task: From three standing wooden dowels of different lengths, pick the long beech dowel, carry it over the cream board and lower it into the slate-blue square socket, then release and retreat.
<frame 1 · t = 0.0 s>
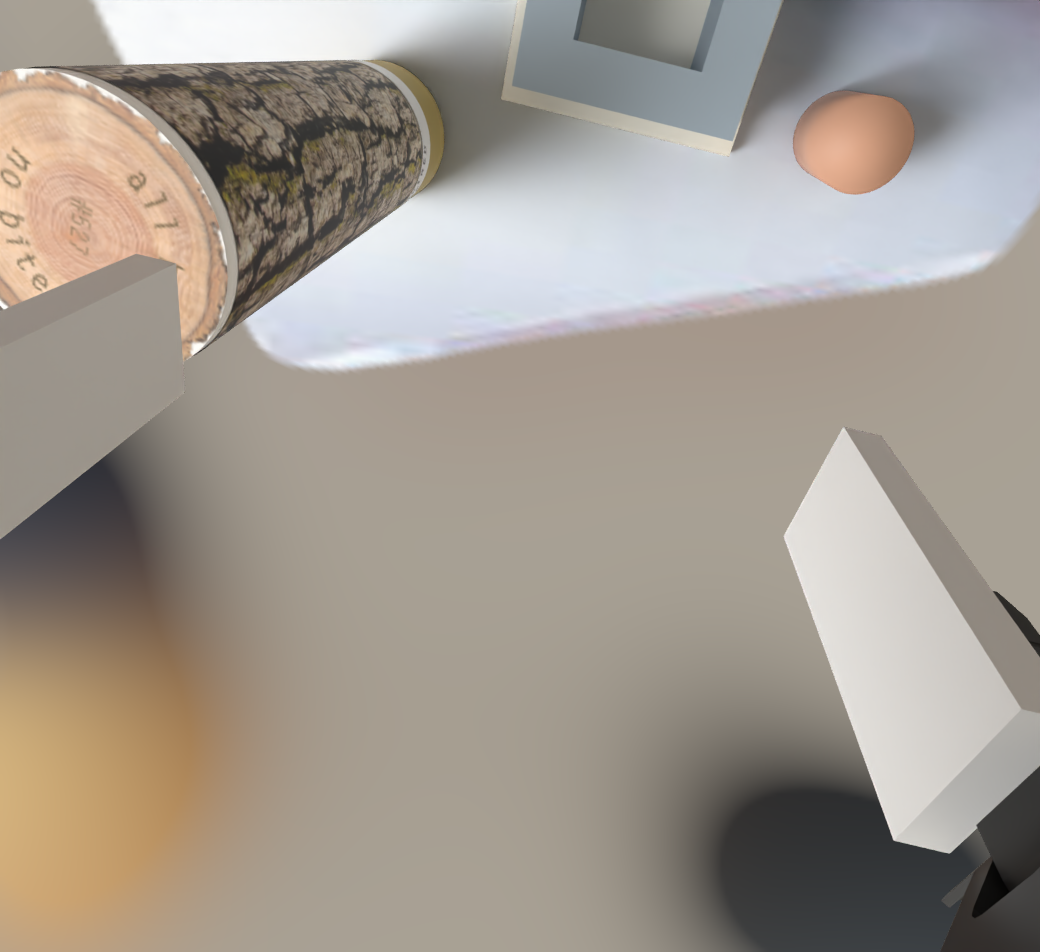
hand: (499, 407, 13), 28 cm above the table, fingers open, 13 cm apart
short dowel: (834, 135, 34), on the table
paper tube: (387, 132, 37), on the table
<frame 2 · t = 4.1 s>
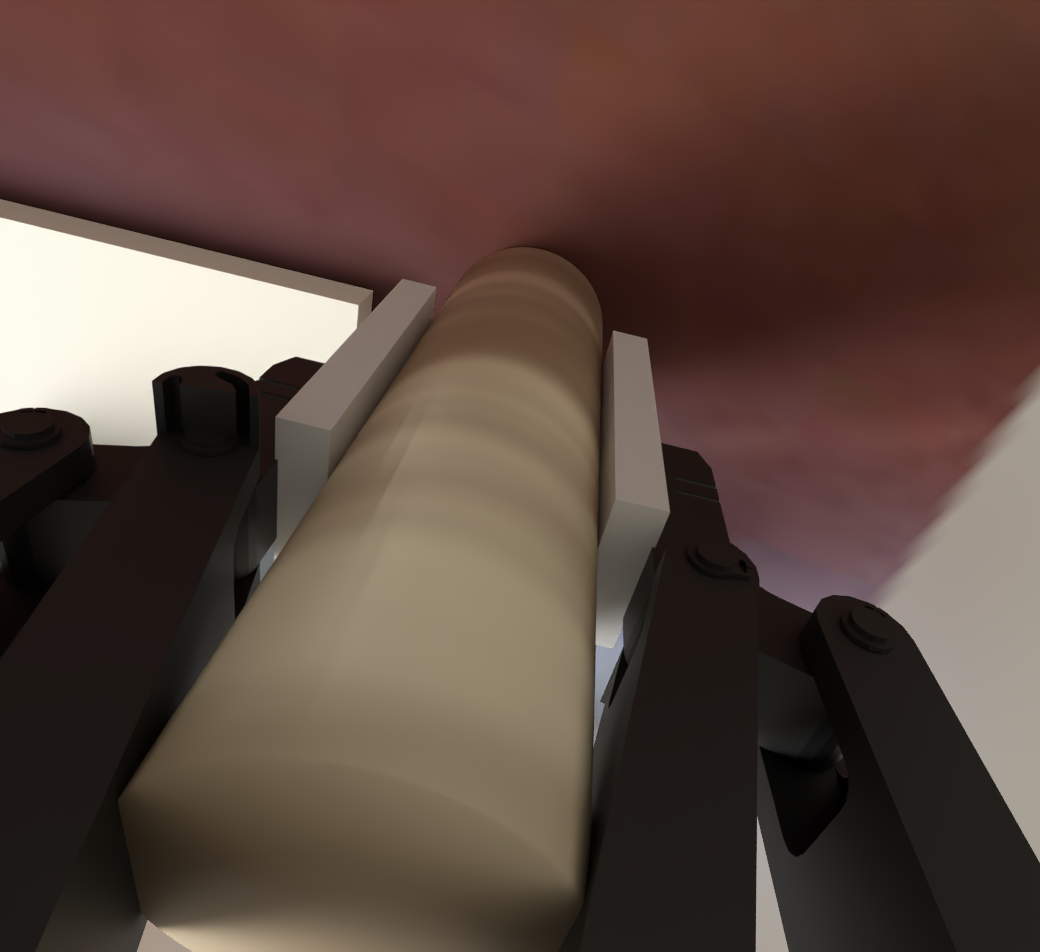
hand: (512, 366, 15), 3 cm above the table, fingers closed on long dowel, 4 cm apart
socket board: (170, 511, 22), on the table
long dowel: (524, 326, 17), on the table, touching gripper
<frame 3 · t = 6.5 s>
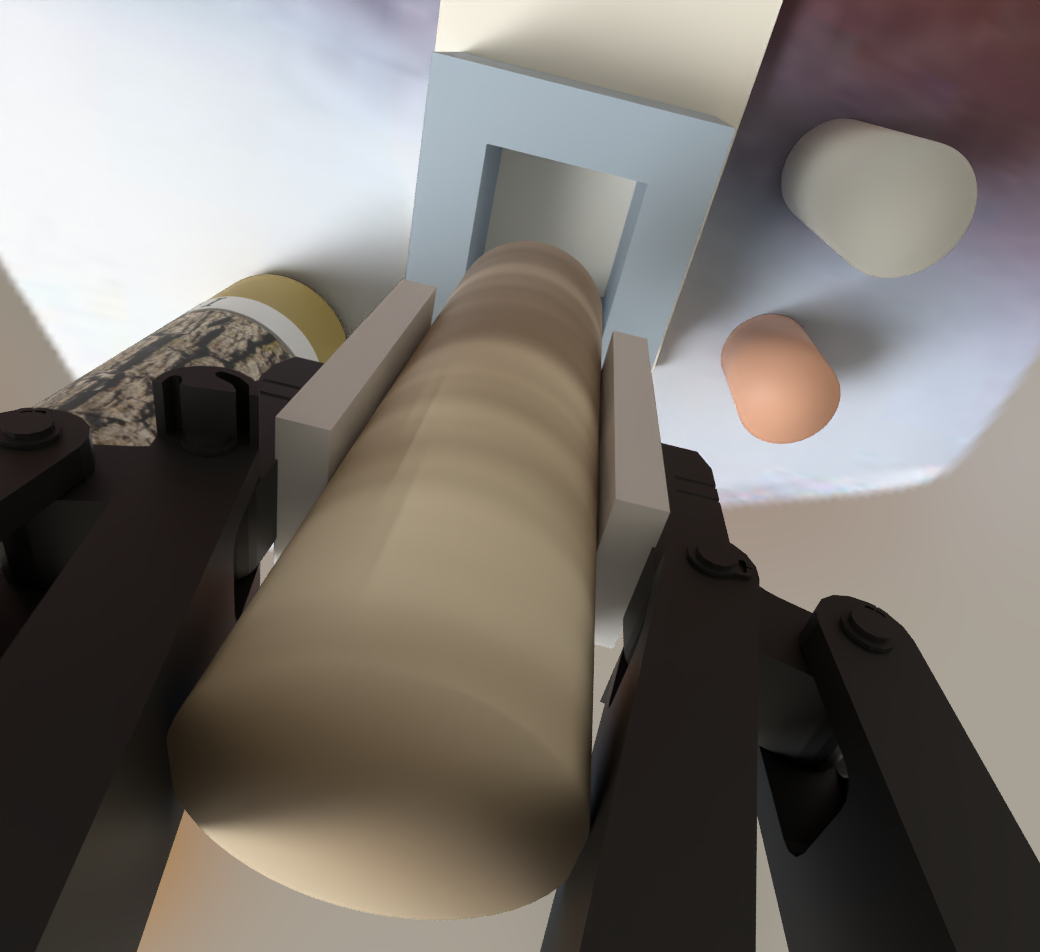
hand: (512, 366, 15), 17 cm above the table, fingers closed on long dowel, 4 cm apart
short dowel: (764, 355, 32), on the table
medium dowel: (832, 173, 27), on the table
socket board: (576, 137, 28), on the table
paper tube: (288, 335, 34), on the table
long dowel: (527, 317, 18), point 14 cm above the table, touching gripper
when the fingers open (7 cm above the table, at t = 8.8 s): long dowel drops 2 cm, resting on socket board.
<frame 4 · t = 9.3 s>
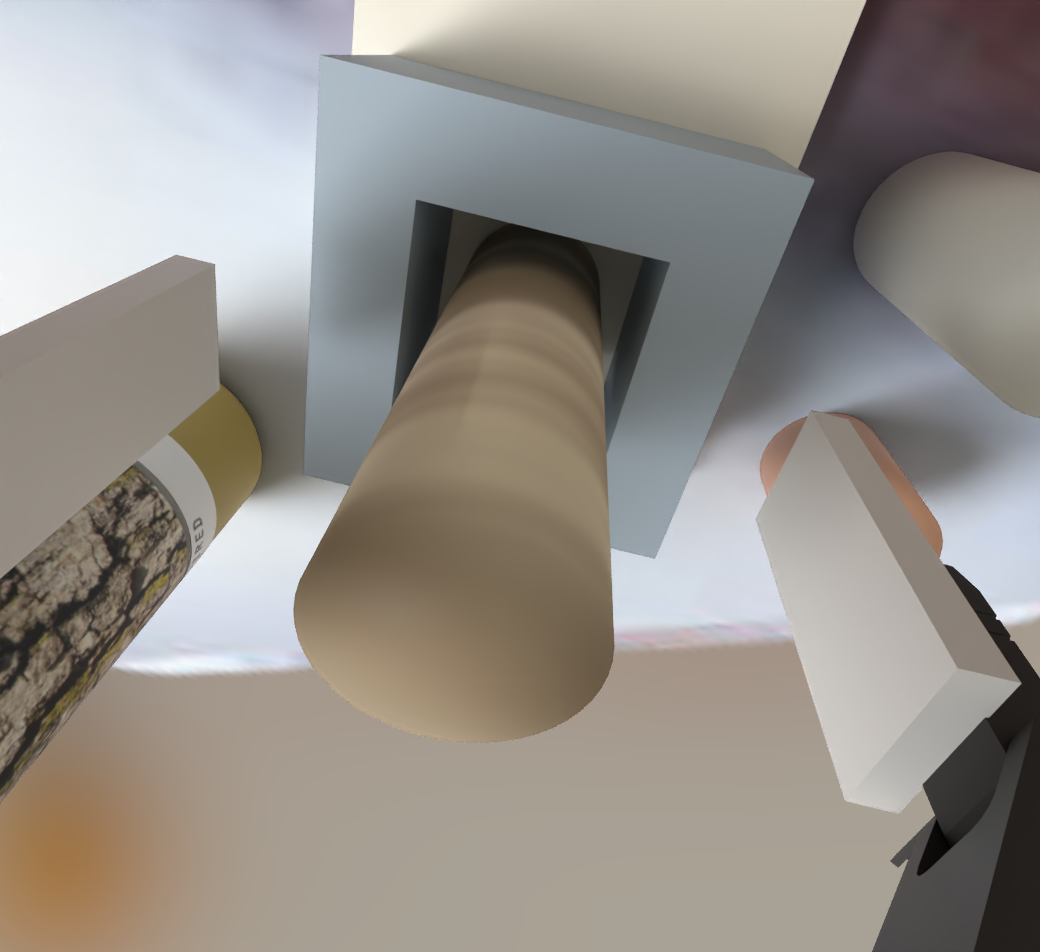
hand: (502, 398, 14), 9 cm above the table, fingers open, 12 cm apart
short dowel: (819, 464, 23), on the table
medium dowel: (928, 228, 19), on the table
socket board: (562, 176, 19), on the table
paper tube: (186, 429, 26), on the table
long dowel: (532, 289, 20), point 1 cm above the table, touching socket board
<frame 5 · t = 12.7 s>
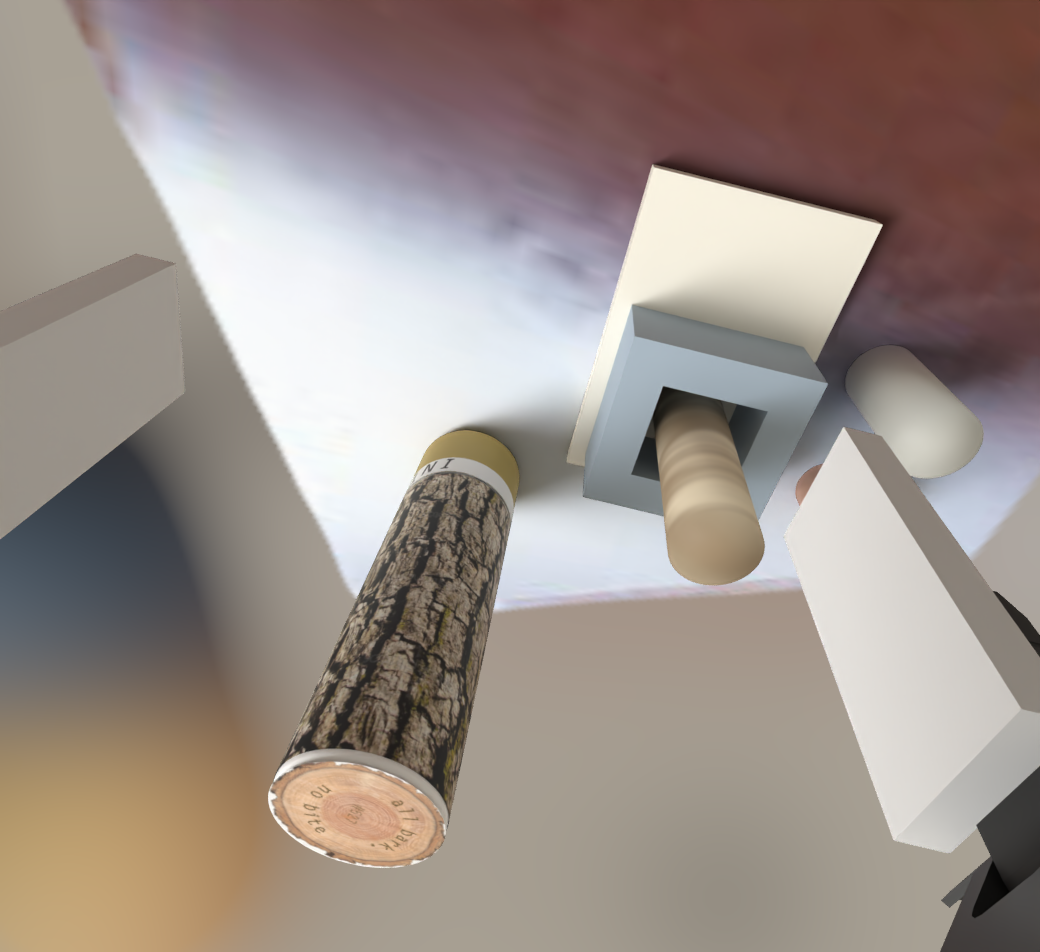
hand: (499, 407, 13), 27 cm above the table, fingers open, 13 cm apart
short dowel: (827, 488, 44), on the table
medium dowel: (881, 377, 39), on the table
socket board: (702, 350, 40), on the table
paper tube: (472, 467, 46), on the table
long dowel: (685, 403, 40), point 1 cm above the table, touching socket board
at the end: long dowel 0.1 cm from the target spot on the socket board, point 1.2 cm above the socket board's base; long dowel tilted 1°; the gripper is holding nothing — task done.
